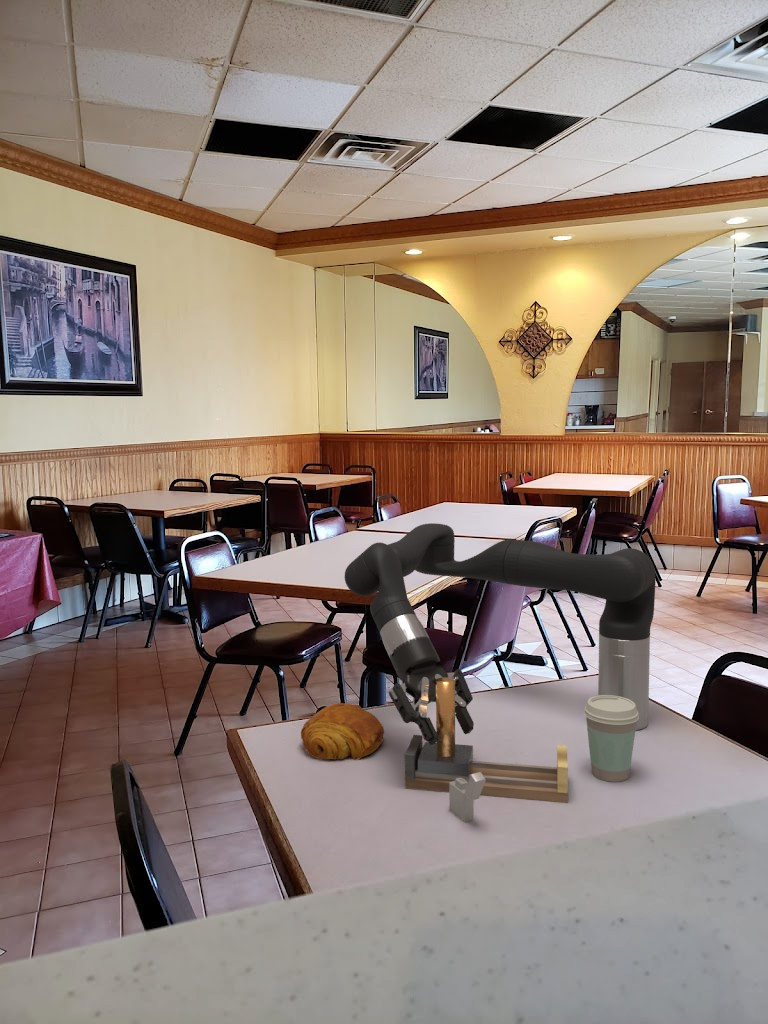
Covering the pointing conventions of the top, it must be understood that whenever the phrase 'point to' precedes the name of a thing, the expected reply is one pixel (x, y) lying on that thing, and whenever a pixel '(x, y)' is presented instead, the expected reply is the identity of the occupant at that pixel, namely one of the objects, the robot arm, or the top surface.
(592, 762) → the coffee cup
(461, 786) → the lighter
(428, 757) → the carriage
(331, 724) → the croissant
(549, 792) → the rail track
